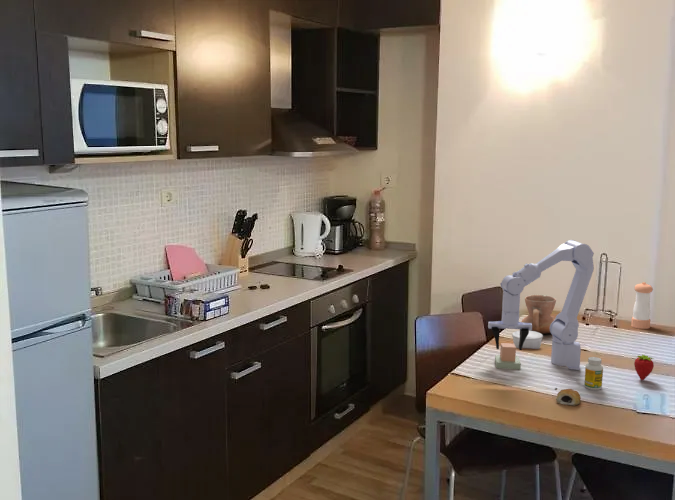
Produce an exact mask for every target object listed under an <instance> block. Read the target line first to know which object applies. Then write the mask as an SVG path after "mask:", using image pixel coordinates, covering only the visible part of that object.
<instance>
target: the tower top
mask: <svg viewBox="0 0 675 500" xmlns="http://www.w3.org/2000/svg"><path fill="white" fill-rule="evenodd" d="M494 361H495V367H496V368H497V369H508V370H509V369H511V370H521V369H522V368H521V367H522V365H521V364H522V363H521V360H520V356H518V355H516V357H515V361H502V360H501V358H500V354H498V355H497V354H495V357H494Z"/></svg>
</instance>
